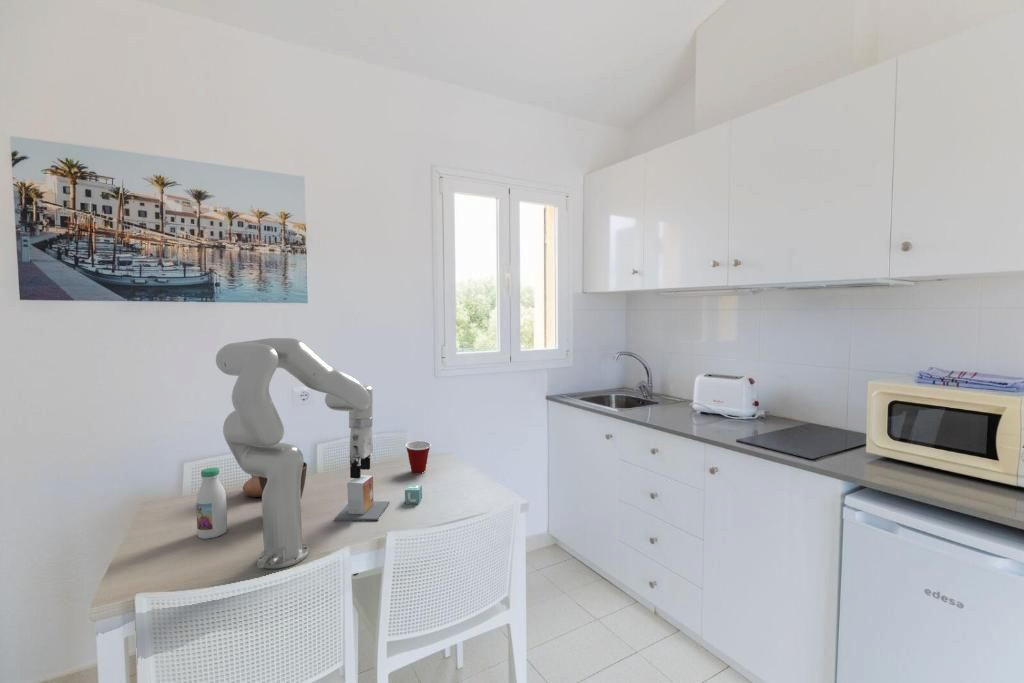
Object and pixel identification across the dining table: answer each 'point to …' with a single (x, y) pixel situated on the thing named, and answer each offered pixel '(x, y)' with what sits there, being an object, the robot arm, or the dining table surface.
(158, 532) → the dining table surface
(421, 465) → the plastic cup
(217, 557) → the dining table surface
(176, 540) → the dining table surface
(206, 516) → the milk bottle
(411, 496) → the lettered cube
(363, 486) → the small box
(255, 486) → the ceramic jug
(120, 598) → the dining table surface
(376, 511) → the slate mat
